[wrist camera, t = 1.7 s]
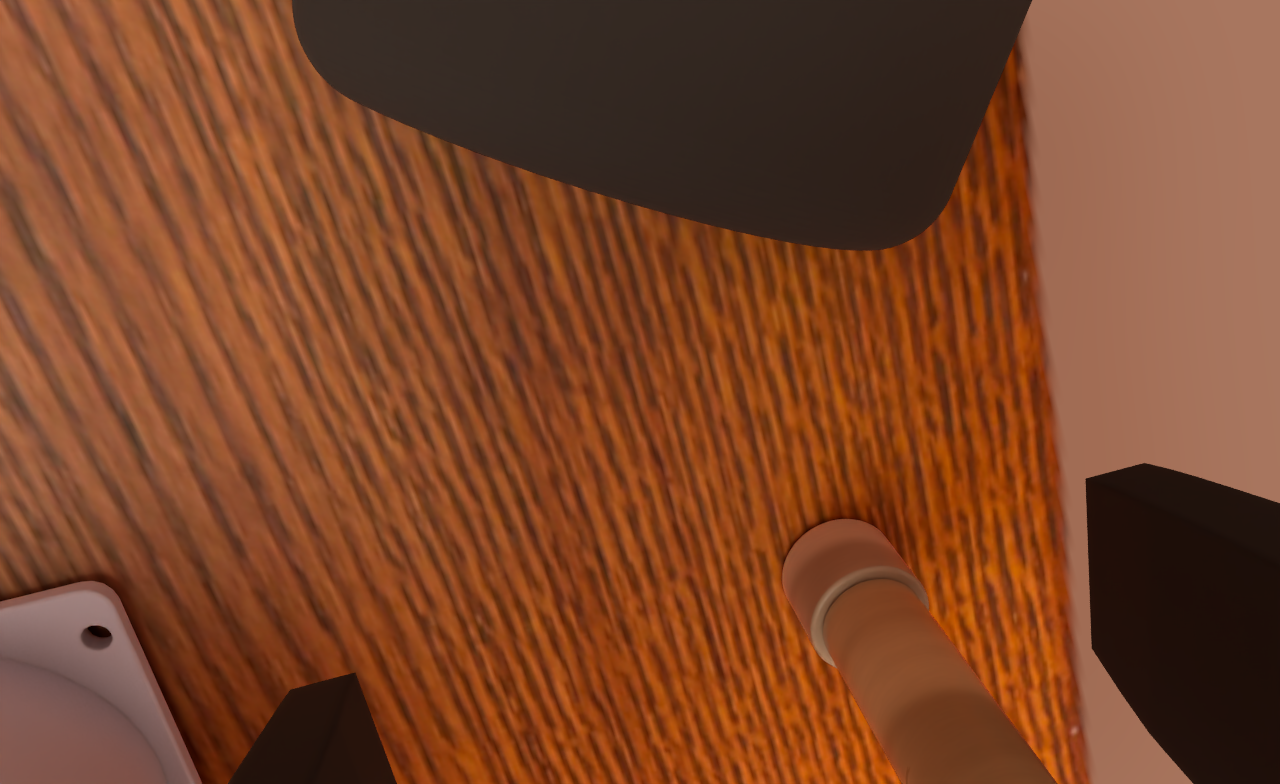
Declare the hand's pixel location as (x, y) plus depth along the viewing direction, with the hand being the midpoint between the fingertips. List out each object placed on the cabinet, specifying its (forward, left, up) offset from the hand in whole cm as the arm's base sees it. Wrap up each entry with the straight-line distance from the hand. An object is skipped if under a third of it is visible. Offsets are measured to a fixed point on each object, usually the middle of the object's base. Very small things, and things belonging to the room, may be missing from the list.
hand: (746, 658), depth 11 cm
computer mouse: (+5, -2, -11) cm, 12 cm away
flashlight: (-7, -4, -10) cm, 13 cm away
